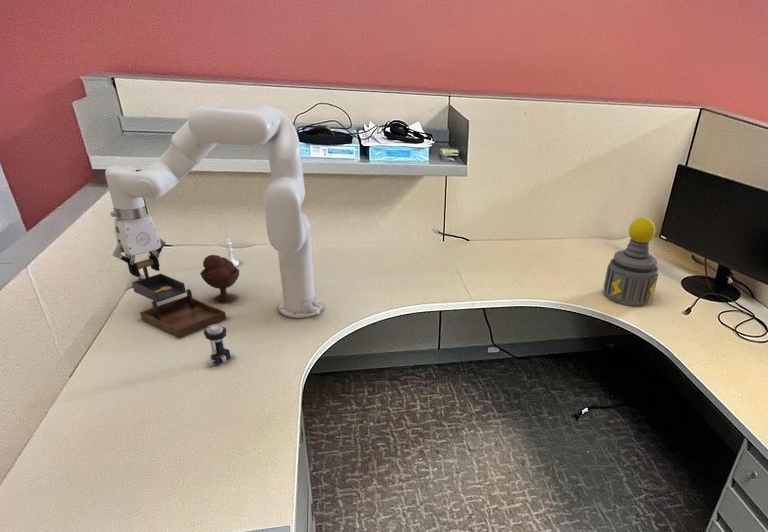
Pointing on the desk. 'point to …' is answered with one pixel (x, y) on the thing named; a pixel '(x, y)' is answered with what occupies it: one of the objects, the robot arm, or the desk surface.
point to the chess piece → (231, 252)
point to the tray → (182, 315)
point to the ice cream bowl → (220, 275)
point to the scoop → (156, 284)
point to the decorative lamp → (633, 268)
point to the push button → (217, 344)
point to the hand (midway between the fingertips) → (145, 272)
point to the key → (164, 289)
